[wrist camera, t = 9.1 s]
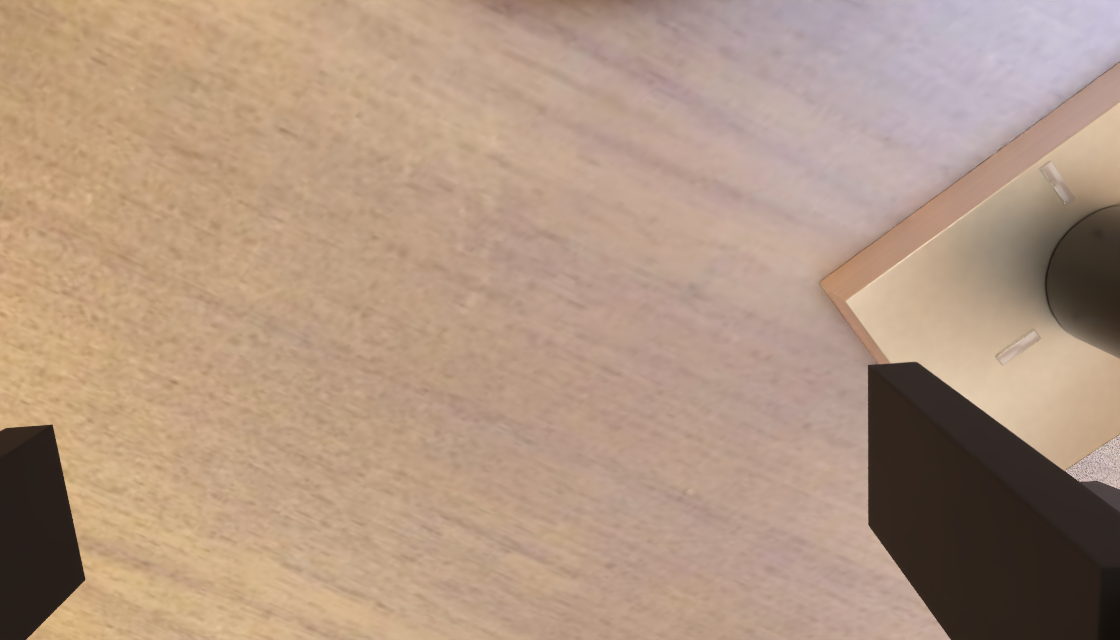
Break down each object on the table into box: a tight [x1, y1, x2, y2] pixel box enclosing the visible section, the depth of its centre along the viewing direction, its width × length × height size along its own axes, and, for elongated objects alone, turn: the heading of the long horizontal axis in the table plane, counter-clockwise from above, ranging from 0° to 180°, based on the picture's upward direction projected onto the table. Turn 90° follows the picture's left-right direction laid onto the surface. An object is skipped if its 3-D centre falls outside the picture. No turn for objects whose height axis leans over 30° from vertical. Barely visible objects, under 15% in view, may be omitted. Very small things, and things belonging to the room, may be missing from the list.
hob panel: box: [820, 62, 1120, 471], centre depth 30 cm, size 14×9×3 cm, turn 128°
